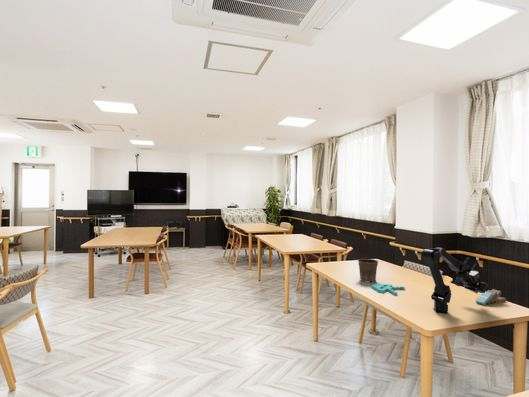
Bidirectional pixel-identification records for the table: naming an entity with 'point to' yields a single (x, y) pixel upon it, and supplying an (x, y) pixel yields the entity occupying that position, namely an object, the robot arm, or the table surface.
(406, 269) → the table surface
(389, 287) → the alien figure
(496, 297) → the walnut domino
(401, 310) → the table surface
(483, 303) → the teal domino
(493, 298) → the walnut domino
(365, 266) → the plant pot
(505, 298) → the walnut domino
